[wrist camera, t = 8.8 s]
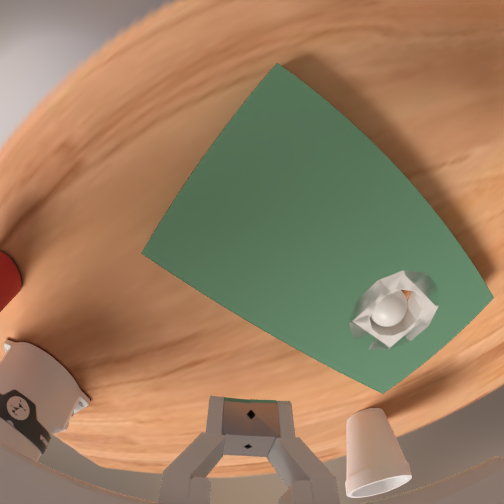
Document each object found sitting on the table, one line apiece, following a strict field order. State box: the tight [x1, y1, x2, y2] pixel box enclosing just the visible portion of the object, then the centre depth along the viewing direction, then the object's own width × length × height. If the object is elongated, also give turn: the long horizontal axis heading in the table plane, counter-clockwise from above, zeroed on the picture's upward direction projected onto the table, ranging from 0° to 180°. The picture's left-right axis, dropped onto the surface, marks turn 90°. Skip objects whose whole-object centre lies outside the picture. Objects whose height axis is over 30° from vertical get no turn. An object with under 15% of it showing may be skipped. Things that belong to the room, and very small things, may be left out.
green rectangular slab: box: [142, 63, 494, 394], centre depth 25 cm, size 18×32×3 cm, turn 53°
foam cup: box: [345, 408, 412, 498], centre depth 33 cm, size 10×9×13 cm
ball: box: [371, 290, 407, 327], centre depth 26 cm, size 4×4×4 cm
